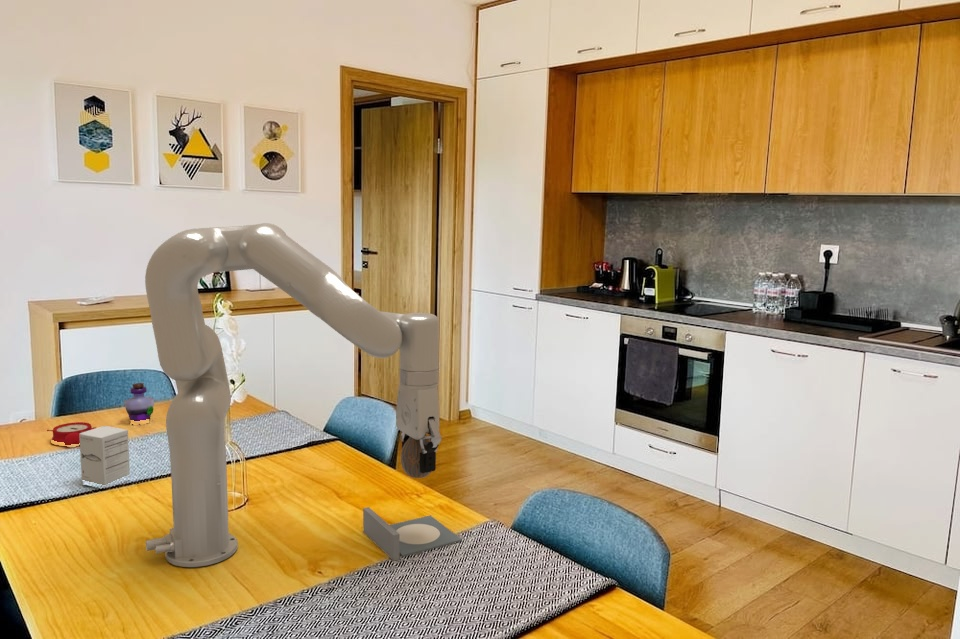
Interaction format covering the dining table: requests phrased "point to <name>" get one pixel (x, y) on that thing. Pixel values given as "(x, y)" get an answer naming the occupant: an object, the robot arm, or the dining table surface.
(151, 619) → the dining table surface
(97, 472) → the supplement box
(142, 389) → the potion bottle
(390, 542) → the low wall
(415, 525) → the mat
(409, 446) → the vase
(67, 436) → the alarm clock
